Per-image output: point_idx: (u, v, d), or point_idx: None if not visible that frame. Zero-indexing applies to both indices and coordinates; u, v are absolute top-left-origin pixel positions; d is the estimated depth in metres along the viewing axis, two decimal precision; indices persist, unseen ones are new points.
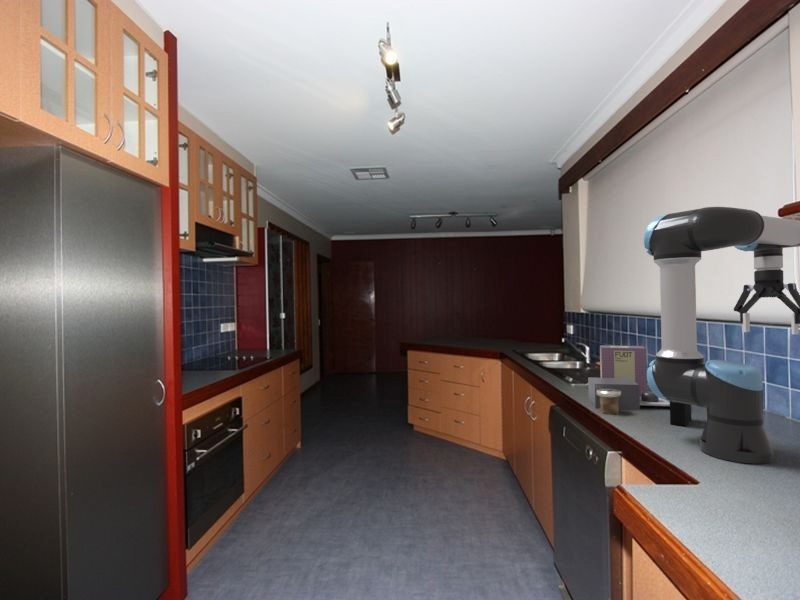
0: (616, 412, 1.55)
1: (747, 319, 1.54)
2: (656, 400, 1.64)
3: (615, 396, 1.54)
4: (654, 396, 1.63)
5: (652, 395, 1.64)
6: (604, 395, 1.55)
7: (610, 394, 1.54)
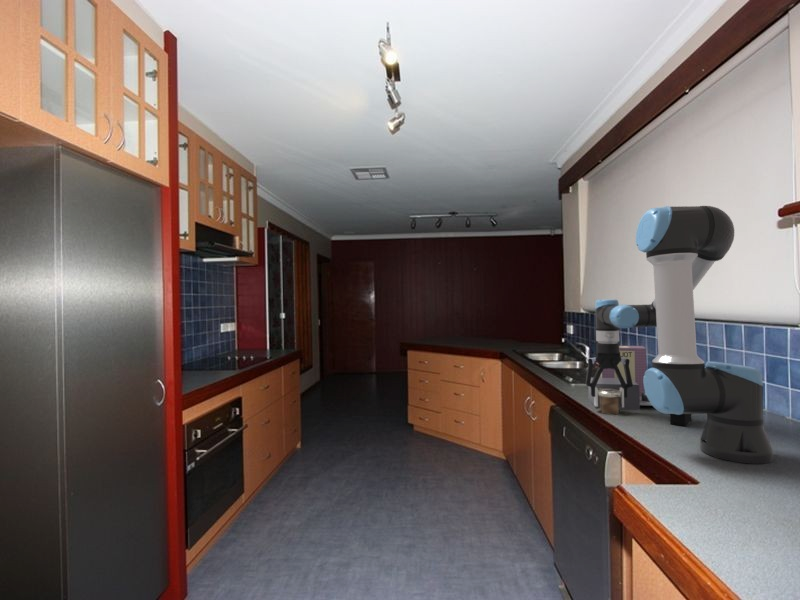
0: (616, 412, 1.55)
1: None
2: None
3: (615, 396, 1.54)
4: None
5: None
6: (604, 395, 1.55)
7: (610, 394, 1.54)
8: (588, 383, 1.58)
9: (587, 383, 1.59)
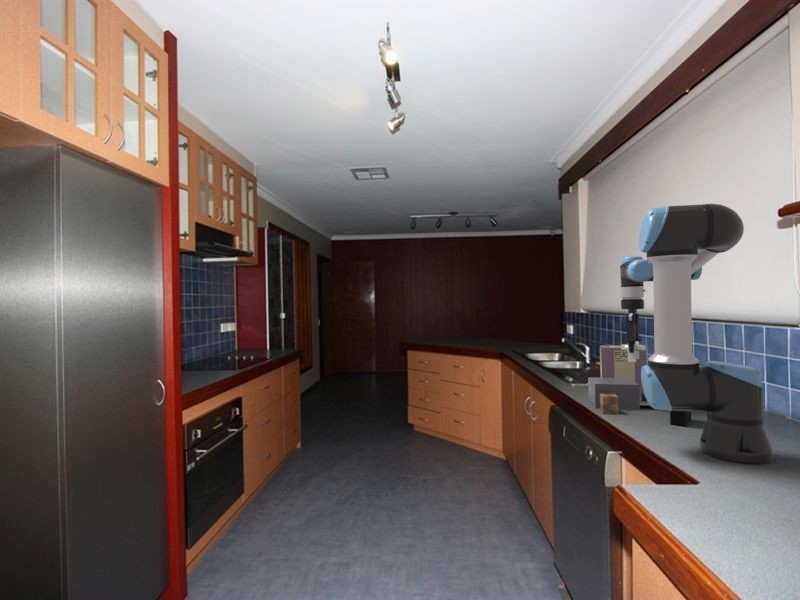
0: (616, 412, 1.55)
1: None
2: None
3: None
4: None
5: None
6: (642, 349, 1.60)
7: None
8: (634, 339, 1.57)
9: (634, 340, 1.57)
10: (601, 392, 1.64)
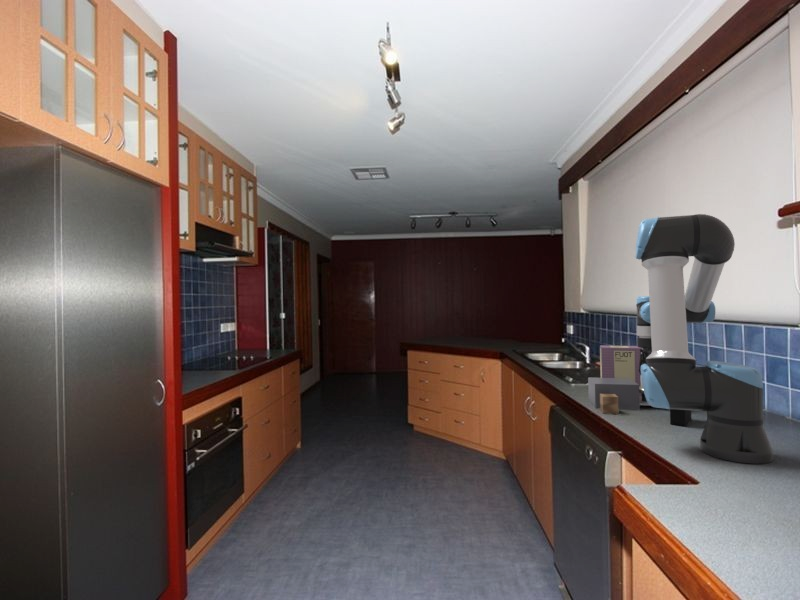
0: (616, 412, 1.55)
1: None
2: None
3: None
4: None
5: None
6: None
7: None
8: None
9: None
10: (601, 392, 1.64)
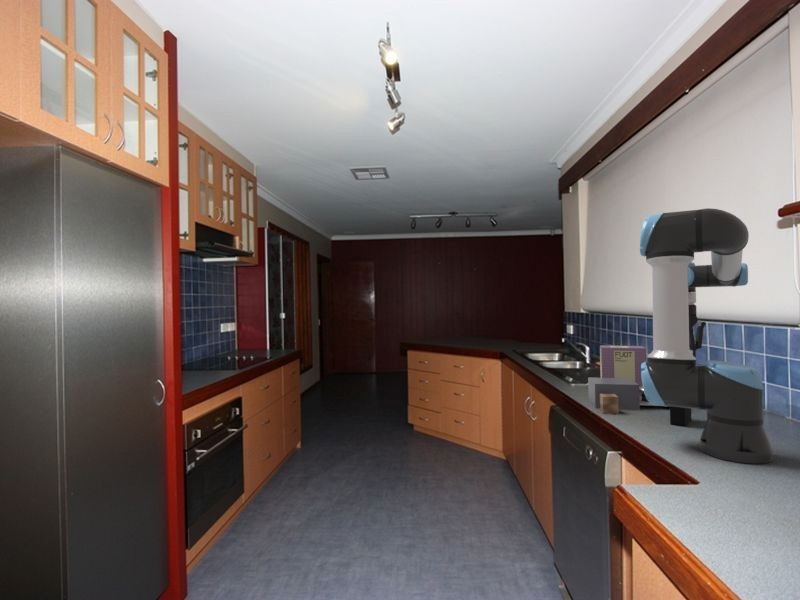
0: (616, 412, 1.55)
1: None
2: None
3: None
4: None
5: None
6: None
7: None
8: None
9: None
10: (601, 392, 1.64)
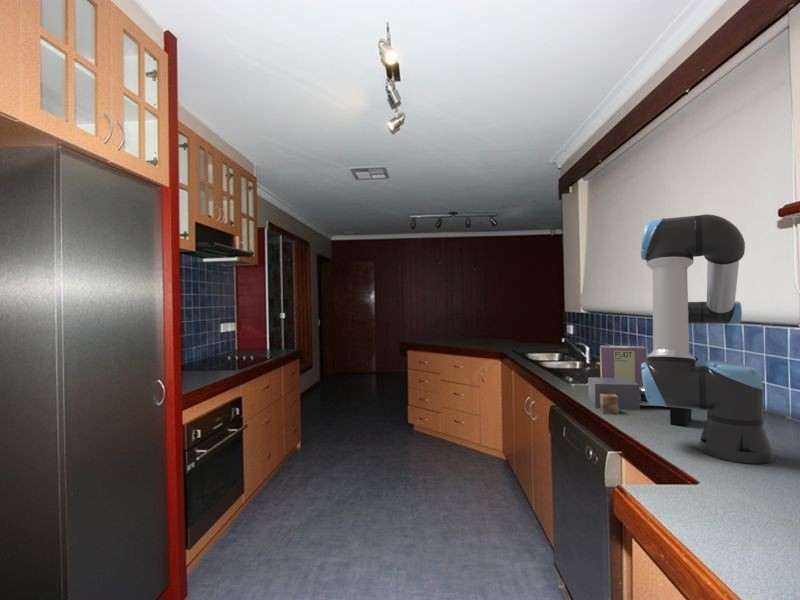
0: (616, 412, 1.55)
1: None
2: None
3: None
4: None
5: None
6: None
7: None
8: None
9: None
10: (601, 392, 1.64)
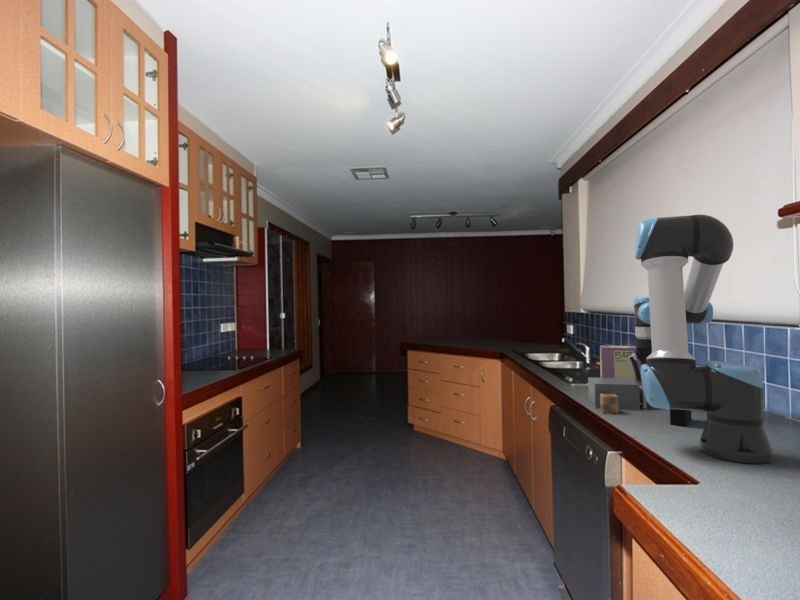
0: (616, 412, 1.55)
1: None
2: None
3: None
4: None
5: None
6: None
7: None
8: (640, 379, 1.66)
9: (639, 379, 1.66)
10: (601, 392, 1.64)
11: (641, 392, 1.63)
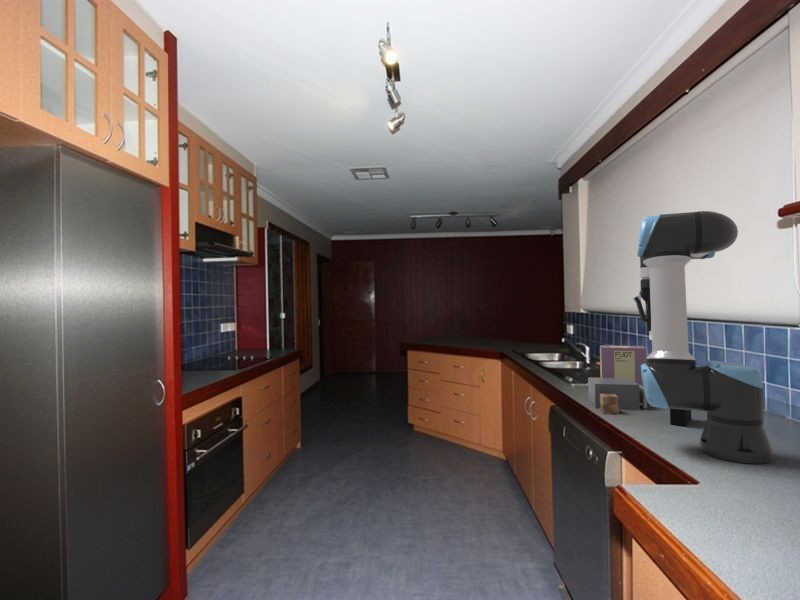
0: (616, 412, 1.55)
1: None
2: None
3: None
4: None
5: None
6: None
7: None
8: (644, 318, 1.70)
9: (643, 319, 1.70)
10: (601, 392, 1.64)
11: (641, 392, 1.63)
